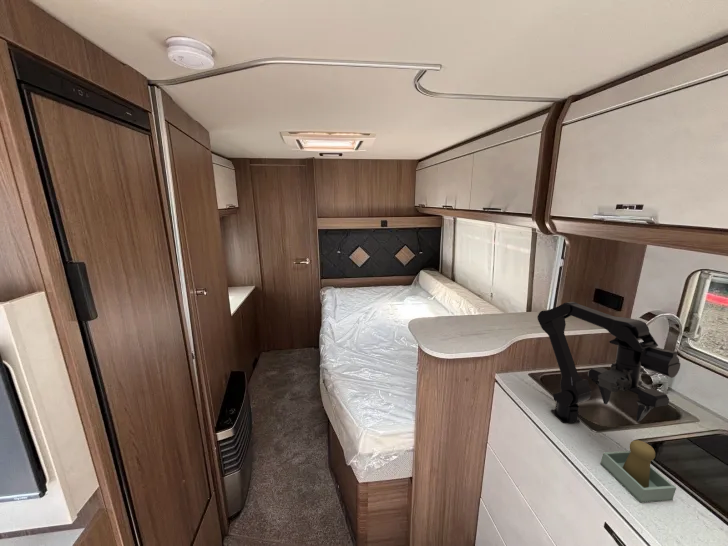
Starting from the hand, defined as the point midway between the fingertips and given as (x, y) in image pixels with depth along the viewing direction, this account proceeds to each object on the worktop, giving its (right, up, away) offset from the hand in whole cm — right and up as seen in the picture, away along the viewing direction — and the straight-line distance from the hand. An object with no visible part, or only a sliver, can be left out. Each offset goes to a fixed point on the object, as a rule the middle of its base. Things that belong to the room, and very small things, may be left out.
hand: (621, 412), depth 93 cm
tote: (-3, -15, -8) cm, 17 cm away
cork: (-3, -15, -8) cm, 17 cm away
